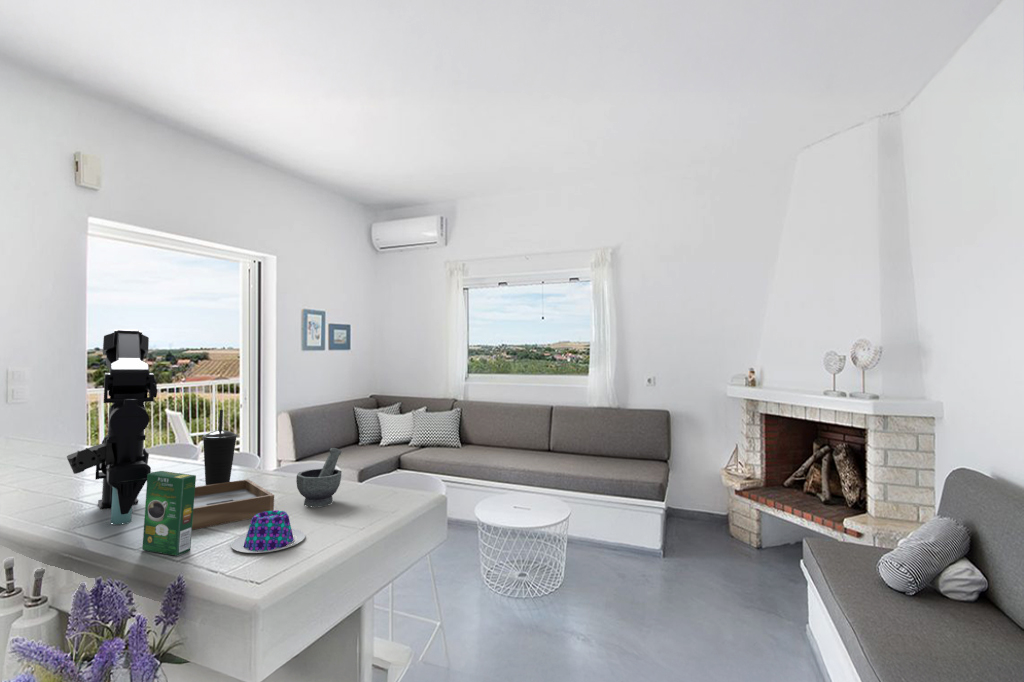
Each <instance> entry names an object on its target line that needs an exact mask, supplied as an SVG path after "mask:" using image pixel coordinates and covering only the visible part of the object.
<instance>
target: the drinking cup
mask: <svg viewBox="0 0 1024 682" xmlns="http://www.w3.org/2000/svg"><path fill="white" fill-rule="evenodd" d="M223 416H224V409H219V420H218V421H219V422H218V430H213V431H210V432H208V433H206V434H204V435H202V436H201V438H202V440H203V441H202V443H203V461H204V477H205V480H204V481H205V483H204V484H205V485H211V484H218V483H225V482H231V475H232V468H233V463H234V456H235V450H236V449H235V448H236V444H237V443H236V441H237V438H238V434H237V433H234V432H232V431H230V430H225V429H223Z"/></svg>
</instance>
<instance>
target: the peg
mask: <svg viewBox="0 0 1024 682" xmlns="http://www.w3.org/2000/svg"><path fill="white" fill-rule="evenodd" d="M110 508H111V510H110V524H111V523H113V524H121V525H123V524H122V523H126V524H128V523H127V522H129V523H131V522H132V515H133V506H132V507H131V509H130V511H129V513H128V514H121V512H120V507H119V501H118V495H117V490H116V488H114V487H113V490H112V507H110ZM130 521H131V522H130Z"/></svg>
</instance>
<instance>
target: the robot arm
mask: <svg viewBox="0 0 1024 682" xmlns="http://www.w3.org/2000/svg"><path fill="white" fill-rule="evenodd" d="M113 331H114V332H112V333H108V334H105V335H104V336H103V342H102V343H103V345H102V356H105V365H106V366H107V367H108V369H109V372H104V383H103V384H104V386H103V404H111V405H110V407H109V408H108V420H107V421H108V424H107V434H105V436H104V437H103V440H102V441H101V443H99V444H96V445H93V446H90V447H85V448H84V449H82V450H77V451H76V452H73V453H71V454H68V455H66V459H67V462H68V463H69V464H68V465H69V466H70V468H71V470H72V472H73V474H74V475H75V474H79V473H82V472H84V471H85V470H88V469H90V468H93V467H95V480H100V479H102V490H101V493H102V494H101V499H98V501H97V503H98V506H99V508H100V509H107V508H111V507H112V490H113V487H114V488H116V490H117V495H118V501H119V507H120V512H121V514H128V513H129V511H130V509H131V507H132V508H133V505H134V504H138V503H139V499H138V497H139V494H140V493H141V491H142V489H143V487H144V486H145V485H146V484H147V475H148V474H149V473H152V471H151V470H152V469H151V468H152V467H151V466H150V465H149V464H148V463H149V456H150V455H149V454H150V453H148V452H147V449H146V447H145V446H144V441H146V438H147V437H146V434H145V430H146V428H147V427H148V426H149V422H150V416H149V413H148V412H147V410H146V406H145V402H146V403H148V402H149V403H150V402H152V403H153V402H154V400H155V399H154V398H157V397H158V388H157V387H158V386H157V382H158V381H157V378H156V377H155V374H154V373H153V372H150V366H149V364H148V363H147V362H144V359H145V357H147V356H148V353H149V342H150V341H149V340H150V339H149V337H148V336H146V335H145V334H143V331H142V330H139V329H125V328H118V329H114V330H113Z"/></svg>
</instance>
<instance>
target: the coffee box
mask: <svg viewBox="0 0 1024 682" xmlns="http://www.w3.org/2000/svg"><path fill="white" fill-rule="evenodd" d="M196 479H197V475H195V474H187V473H180V472H179V473H178V472H173V471H172V472H171V471H166V470H159V471H158V470H157V471H154V472H153V471H151V473H149V474H148V475H147V481H146V491H145V492H146V493H145V507H144V508H145V509H144V519H143V520H144V521H143V533H142V535H143V536H142V551H147V552H150V553H153V552H154V553H158V554H164V555H168V556H175V557H179V556H181V555H184V554H187V553H188V552H190V551H191V546H192V542H191V541H192V534H193V533H192V531H193V530H192V522H193V508H194V495H195V487H196V481H197V480H196Z"/></svg>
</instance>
